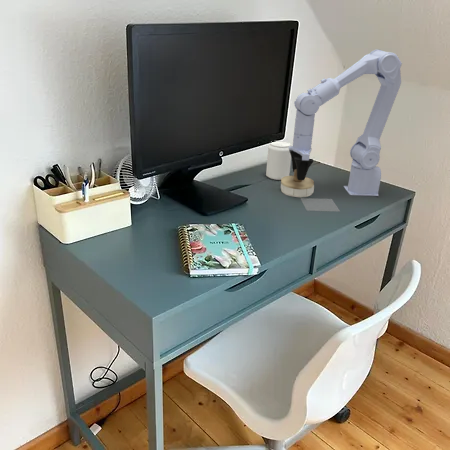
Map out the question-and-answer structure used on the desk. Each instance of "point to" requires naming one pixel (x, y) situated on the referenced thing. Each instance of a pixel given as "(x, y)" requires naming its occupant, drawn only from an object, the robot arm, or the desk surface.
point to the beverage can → (278, 160)
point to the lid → (297, 182)
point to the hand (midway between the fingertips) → (298, 175)
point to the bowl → (297, 191)
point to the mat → (319, 204)
